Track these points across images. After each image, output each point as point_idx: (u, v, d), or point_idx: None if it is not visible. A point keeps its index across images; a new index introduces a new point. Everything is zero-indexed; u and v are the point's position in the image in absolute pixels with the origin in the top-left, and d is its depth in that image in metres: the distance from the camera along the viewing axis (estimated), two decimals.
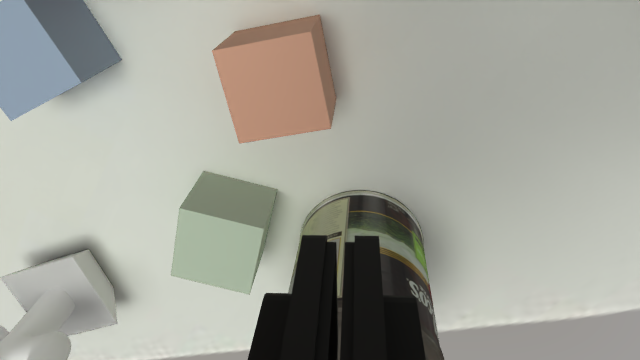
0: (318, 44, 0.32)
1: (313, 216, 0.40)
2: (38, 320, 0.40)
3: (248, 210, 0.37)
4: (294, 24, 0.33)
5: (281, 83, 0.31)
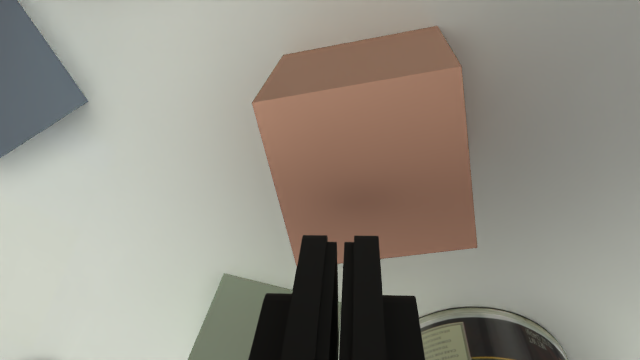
0: None
1: None
2: None
3: None
4: (400, 45, 0.18)
5: (388, 166, 0.16)
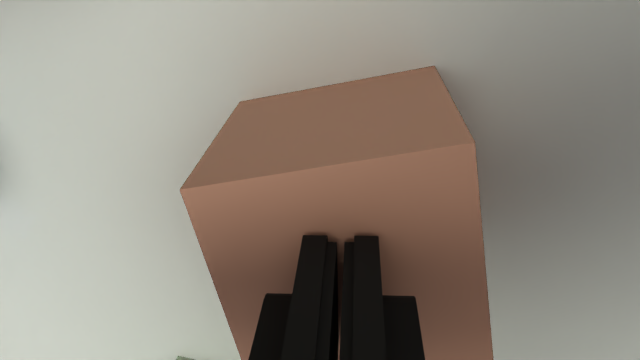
0: None
1: None
2: None
3: None
4: (388, 96, 0.13)
5: None
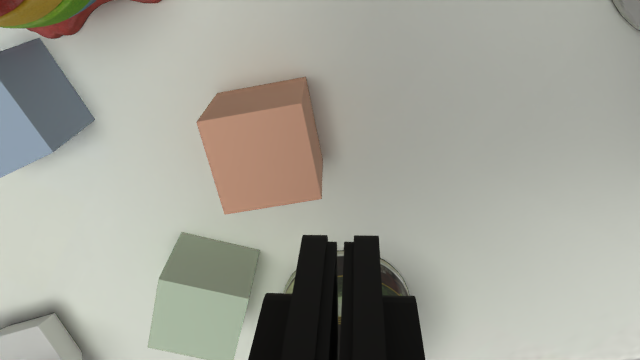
0: (307, 112, 0.31)
1: None
2: None
3: (231, 277, 0.36)
4: (281, 89, 0.32)
5: (270, 155, 0.30)
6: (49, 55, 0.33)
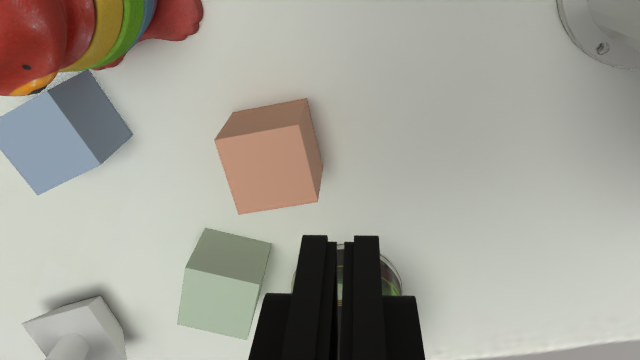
0: (305, 129, 0.37)
1: None
2: None
3: (245, 266, 0.42)
4: (284, 110, 0.38)
5: (274, 166, 0.36)
6: (96, 83, 0.40)
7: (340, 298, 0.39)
